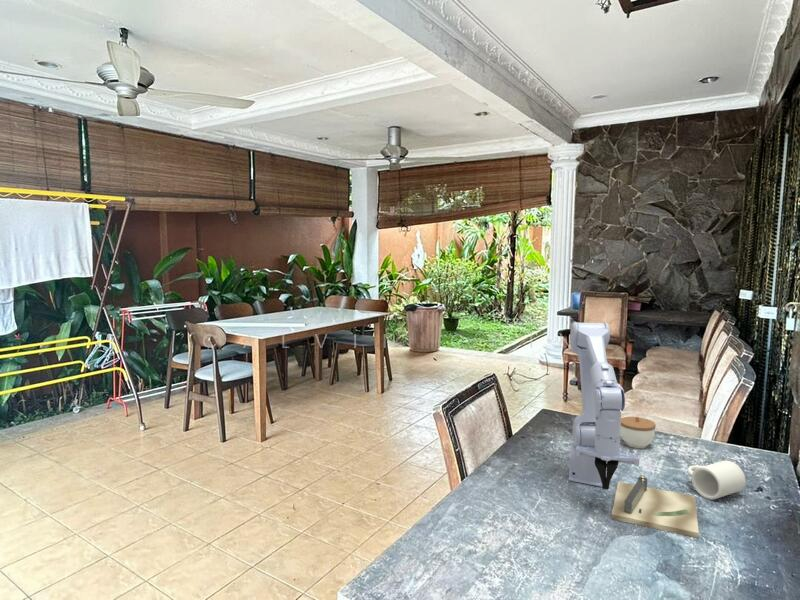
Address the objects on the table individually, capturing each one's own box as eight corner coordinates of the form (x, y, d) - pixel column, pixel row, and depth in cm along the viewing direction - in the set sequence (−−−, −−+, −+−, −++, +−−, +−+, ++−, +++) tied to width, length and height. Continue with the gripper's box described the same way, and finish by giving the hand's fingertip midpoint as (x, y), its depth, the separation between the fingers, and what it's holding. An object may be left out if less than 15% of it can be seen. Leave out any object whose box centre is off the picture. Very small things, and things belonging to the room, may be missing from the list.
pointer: (622, 510, 123) (623, 497, 123) (638, 486, 136) (639, 473, 136) (632, 513, 122) (633, 500, 121) (647, 488, 135) (648, 475, 134)
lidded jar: (658, 444, 168) (660, 416, 167) (648, 454, 160) (650, 425, 159) (624, 436, 175) (625, 409, 174) (613, 445, 167) (614, 417, 166)
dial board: (611, 518, 122) (611, 513, 122) (617, 485, 139) (618, 481, 139) (698, 538, 114) (698, 532, 114) (694, 500, 131) (694, 495, 131)
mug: (745, 496, 133) (747, 467, 132) (720, 505, 129) (721, 474, 128) (701, 478, 144) (702, 450, 143) (676, 485, 139) (678, 457, 139)
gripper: (574, 435, 126) (572, 488, 128) (639, 445, 120) (637, 501, 121) (578, 426, 133) (577, 477, 134) (640, 435, 126) (638, 488, 127)
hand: (605, 487), depth 128 cm, fingers closed
